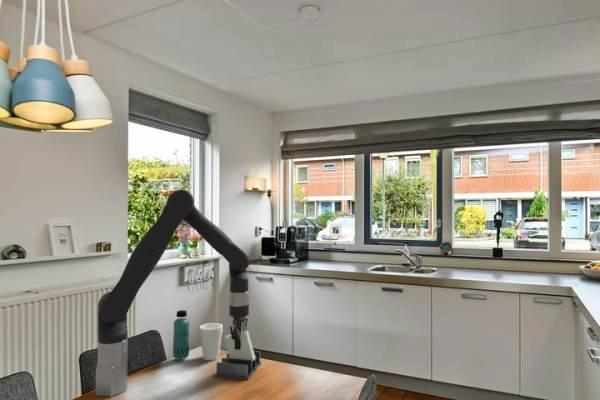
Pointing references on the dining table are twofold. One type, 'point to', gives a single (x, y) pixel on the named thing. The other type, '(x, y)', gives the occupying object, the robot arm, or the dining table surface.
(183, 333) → the beverage bottle
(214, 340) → the foam cup
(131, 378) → the dining table surface
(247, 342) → the tile
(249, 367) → the rack
